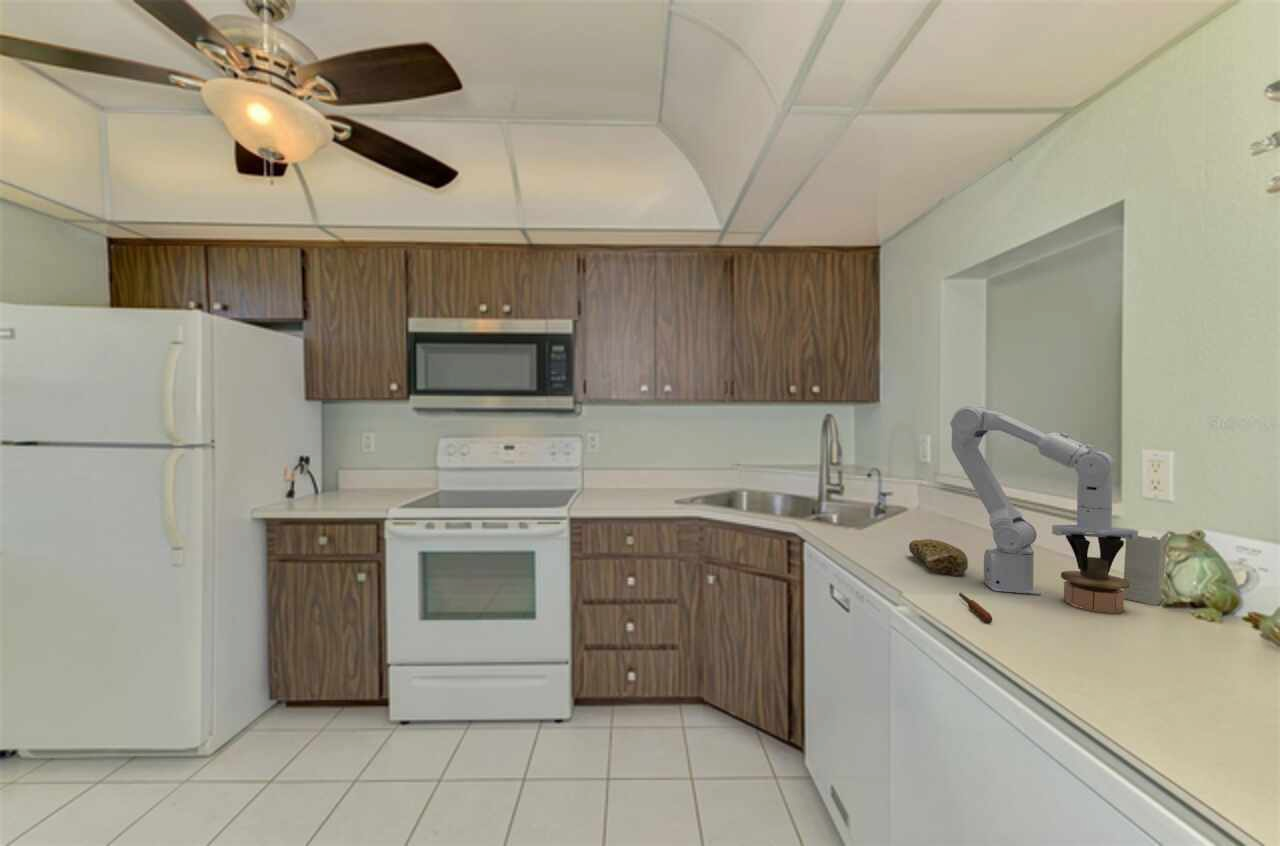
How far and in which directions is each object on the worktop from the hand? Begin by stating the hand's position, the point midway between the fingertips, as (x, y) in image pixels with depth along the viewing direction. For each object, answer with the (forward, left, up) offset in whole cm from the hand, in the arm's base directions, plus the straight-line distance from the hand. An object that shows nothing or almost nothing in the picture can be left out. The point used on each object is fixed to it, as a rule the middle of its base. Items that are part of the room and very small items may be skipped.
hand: (1093, 570), depth 117 cm
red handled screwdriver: (-26, -11, -8) cm, 29 cm away
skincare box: (+13, +8, -8) cm, 17 cm away
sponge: (-25, +25, -8) cm, 36 cm away
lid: (0, 0, -2) cm, 2 cm away
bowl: (0, 0, -7) cm, 7 cm away
